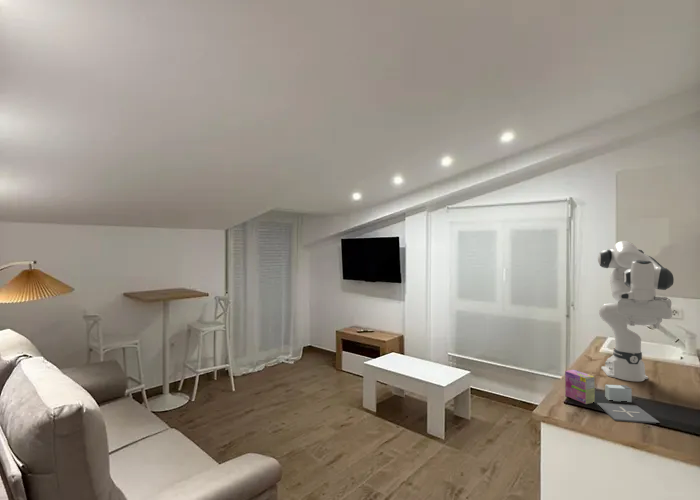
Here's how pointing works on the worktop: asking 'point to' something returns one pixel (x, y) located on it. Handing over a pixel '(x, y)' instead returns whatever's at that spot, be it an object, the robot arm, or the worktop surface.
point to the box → (580, 386)
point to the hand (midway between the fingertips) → (643, 326)
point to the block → (618, 393)
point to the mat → (627, 413)
